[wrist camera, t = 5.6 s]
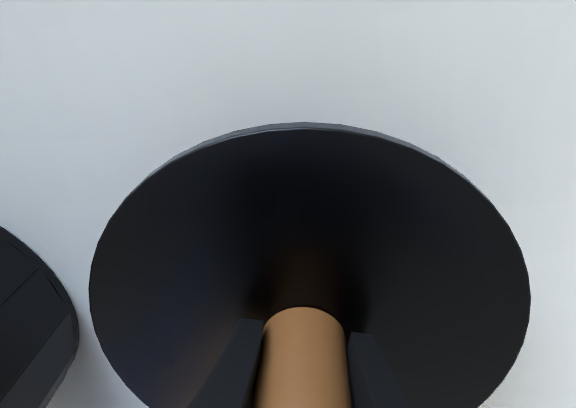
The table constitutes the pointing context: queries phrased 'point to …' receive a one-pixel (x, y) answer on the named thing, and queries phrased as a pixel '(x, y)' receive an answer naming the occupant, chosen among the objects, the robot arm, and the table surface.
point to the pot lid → (309, 270)
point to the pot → (32, 327)
